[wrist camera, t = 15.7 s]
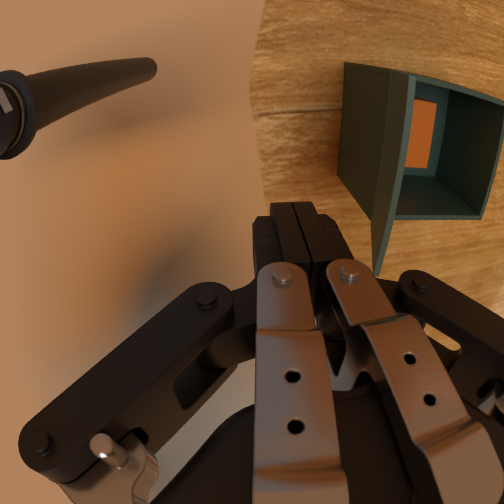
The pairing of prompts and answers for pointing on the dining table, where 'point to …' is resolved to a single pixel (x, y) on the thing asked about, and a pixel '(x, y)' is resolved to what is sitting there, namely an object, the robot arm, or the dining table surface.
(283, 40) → the dining table surface
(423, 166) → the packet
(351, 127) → the dark green box
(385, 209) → the flap
